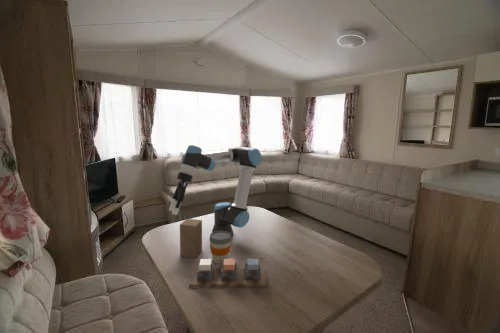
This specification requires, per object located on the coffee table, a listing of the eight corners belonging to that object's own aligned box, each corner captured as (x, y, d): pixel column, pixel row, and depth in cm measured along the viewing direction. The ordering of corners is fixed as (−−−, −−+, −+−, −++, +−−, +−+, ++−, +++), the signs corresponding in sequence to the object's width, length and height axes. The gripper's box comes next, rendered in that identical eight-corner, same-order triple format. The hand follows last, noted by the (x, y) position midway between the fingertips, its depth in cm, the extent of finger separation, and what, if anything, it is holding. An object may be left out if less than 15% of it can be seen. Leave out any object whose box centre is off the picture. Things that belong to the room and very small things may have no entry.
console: (189, 287, 121) (189, 275, 120) (193, 271, 134) (193, 260, 133) (267, 286, 124) (267, 274, 123) (264, 271, 136) (264, 260, 135)
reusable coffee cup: (205, 261, 144) (205, 237, 141) (215, 251, 155) (215, 229, 153) (225, 266, 140) (225, 241, 137) (234, 256, 151) (234, 232, 149)
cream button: (199, 274, 124) (199, 264, 124) (200, 267, 130) (200, 258, 129) (210, 274, 125) (210, 264, 124) (211, 267, 130) (211, 258, 129)
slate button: (247, 273, 126) (247, 264, 125) (246, 267, 131) (247, 258, 131) (258, 273, 126) (258, 264, 125) (257, 267, 132) (257, 258, 131)
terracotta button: (223, 274, 125) (223, 264, 124) (223, 267, 131) (224, 258, 130) (234, 273, 125) (234, 264, 125) (234, 267, 131) (234, 258, 130)
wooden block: (195, 258, 147) (195, 226, 144) (180, 256, 149) (179, 224, 146) (202, 250, 157) (202, 219, 154) (187, 248, 159) (187, 218, 156)
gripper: (176, 171, 143) (163, 207, 139) (183, 170, 120) (167, 214, 116) (188, 175, 145) (176, 211, 142) (197, 175, 123) (183, 218, 119)
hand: (172, 212), depth 129 cm, fingers open, 13 cm apart
